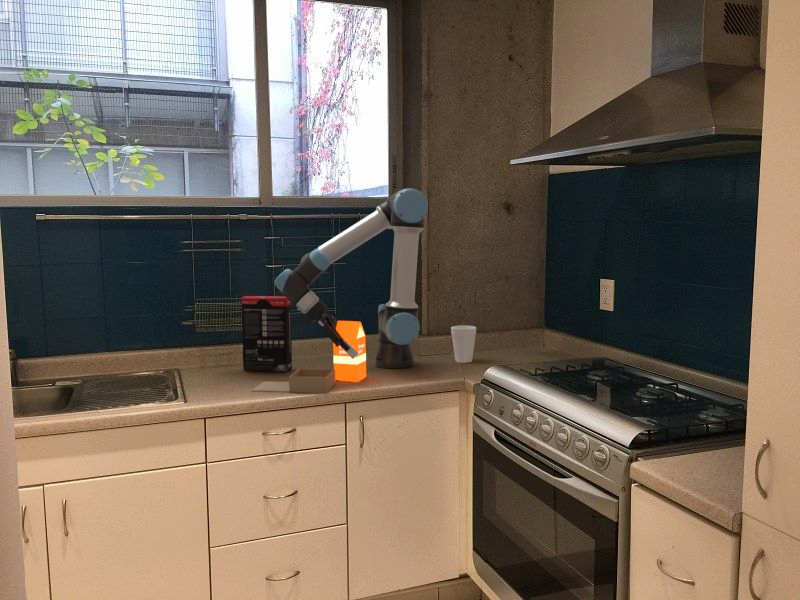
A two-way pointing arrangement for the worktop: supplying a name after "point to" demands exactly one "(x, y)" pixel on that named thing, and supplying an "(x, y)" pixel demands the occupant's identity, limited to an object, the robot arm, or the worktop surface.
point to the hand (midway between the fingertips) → (358, 353)
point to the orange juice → (342, 361)
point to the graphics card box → (266, 333)
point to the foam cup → (463, 342)
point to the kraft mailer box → (303, 382)
